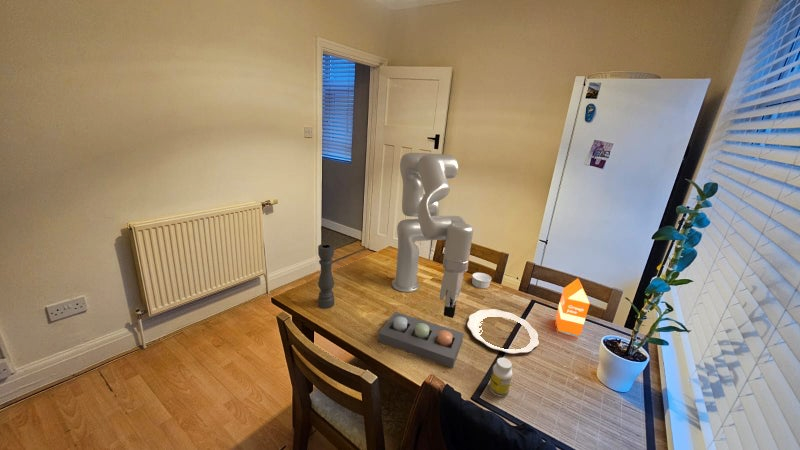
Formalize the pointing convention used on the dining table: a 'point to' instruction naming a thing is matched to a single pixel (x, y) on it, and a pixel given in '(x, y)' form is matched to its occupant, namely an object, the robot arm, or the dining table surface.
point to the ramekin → (481, 280)
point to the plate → (482, 314)
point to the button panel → (421, 340)
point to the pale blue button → (400, 324)
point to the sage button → (422, 331)
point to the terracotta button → (444, 338)
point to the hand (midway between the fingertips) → (448, 315)
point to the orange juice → (572, 308)
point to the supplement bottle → (501, 377)
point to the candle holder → (326, 276)
